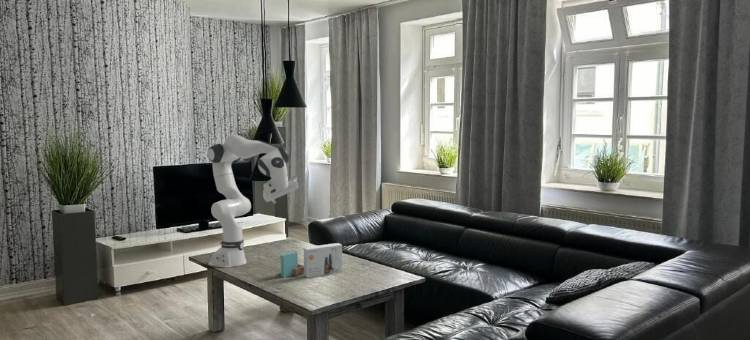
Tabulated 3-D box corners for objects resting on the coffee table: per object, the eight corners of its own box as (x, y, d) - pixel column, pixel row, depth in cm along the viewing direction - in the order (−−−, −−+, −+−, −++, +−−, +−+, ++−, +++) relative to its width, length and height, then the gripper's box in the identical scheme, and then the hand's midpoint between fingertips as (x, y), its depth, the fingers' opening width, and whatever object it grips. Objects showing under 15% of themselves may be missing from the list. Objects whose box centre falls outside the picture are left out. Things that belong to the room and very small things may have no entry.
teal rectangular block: (284, 277, 313) (283, 255, 312) (281, 276, 315) (280, 255, 314) (298, 273, 321) (297, 252, 319) (295, 272, 322) (294, 251, 321)
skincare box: (307, 278, 311) (306, 249, 309) (303, 276, 315) (302, 247, 314) (343, 272, 320) (342, 244, 319) (339, 270, 325) (338, 242, 323)
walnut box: (296, 276, 314) (296, 269, 314) (283, 273, 321) (283, 266, 321) (307, 273, 320) (307, 266, 320) (294, 270, 327) (293, 263, 327)
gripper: (294, 171, 320) (295, 188, 330) (260, 186, 312) (263, 203, 322) (299, 178, 317) (301, 195, 327) (265, 193, 308) (268, 210, 318)
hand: (282, 199), depth 324 cm, fingers open, 8 cm apart
